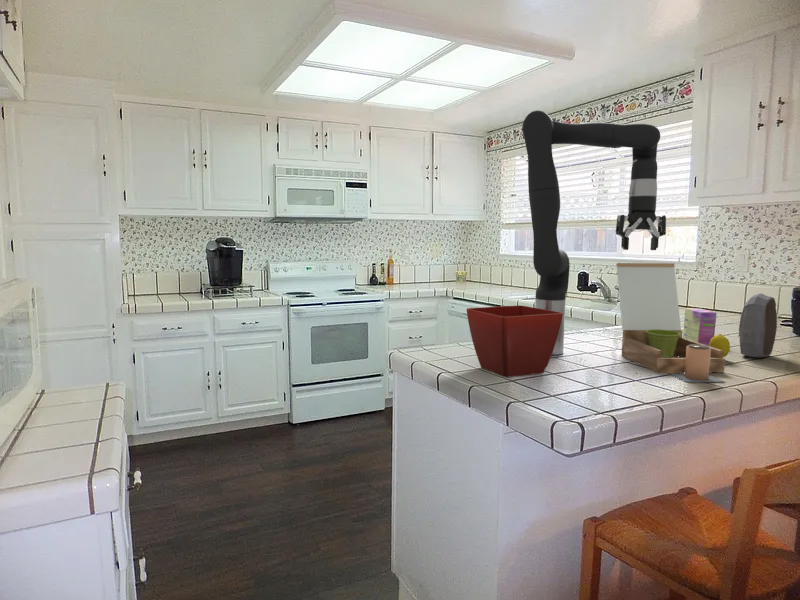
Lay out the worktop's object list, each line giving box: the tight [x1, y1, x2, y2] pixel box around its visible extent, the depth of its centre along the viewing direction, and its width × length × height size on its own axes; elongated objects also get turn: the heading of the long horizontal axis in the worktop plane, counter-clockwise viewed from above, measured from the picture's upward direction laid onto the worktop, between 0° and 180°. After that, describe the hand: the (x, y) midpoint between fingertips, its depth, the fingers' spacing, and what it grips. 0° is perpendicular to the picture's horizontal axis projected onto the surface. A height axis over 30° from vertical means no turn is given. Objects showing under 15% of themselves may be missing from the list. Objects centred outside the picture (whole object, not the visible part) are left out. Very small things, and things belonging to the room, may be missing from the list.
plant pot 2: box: [646, 330, 681, 358], centre depth 163 cm, size 9×9×9 cm
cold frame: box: [621, 329, 726, 374], centre depth 158 cm, size 18×22×8 cm
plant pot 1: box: [466, 305, 563, 378], centre depth 148 cm, size 19×19×17 cm
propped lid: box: [615, 262, 682, 332], centre depth 174 cm, size 18×12×29 cm, turn 92°
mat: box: [669, 373, 726, 383], centre depth 142 cm, size 10×8×1 cm
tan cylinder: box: [684, 344, 711, 380], centre depth 141 cm, size 6×6×8 cm
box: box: [682, 307, 717, 346], centre depth 191 cm, size 10×6×12 cm, turn 179°
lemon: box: [709, 333, 731, 358], centre depth 164 cm, size 6×6×8 cm
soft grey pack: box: [737, 293, 778, 358], centre depth 169 cm, size 15×8×20 cm, turn 129°
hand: (639, 250), depth 163 cm, fingers open, 8 cm apart
